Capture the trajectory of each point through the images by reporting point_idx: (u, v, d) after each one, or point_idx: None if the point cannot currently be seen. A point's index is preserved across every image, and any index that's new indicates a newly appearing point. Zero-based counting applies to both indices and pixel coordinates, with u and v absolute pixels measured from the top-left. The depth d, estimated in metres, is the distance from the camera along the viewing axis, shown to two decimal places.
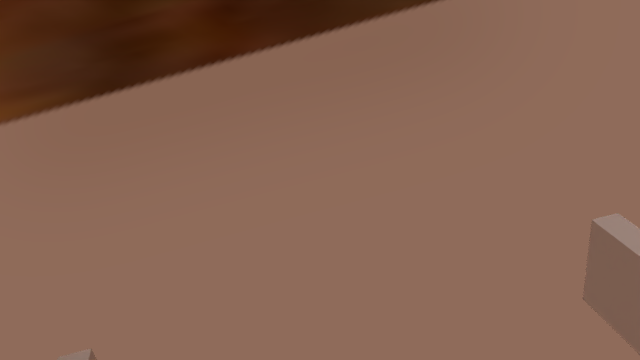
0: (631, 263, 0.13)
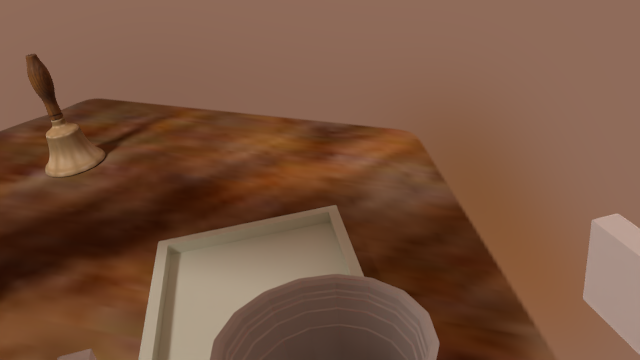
0: (631, 263, 0.13)
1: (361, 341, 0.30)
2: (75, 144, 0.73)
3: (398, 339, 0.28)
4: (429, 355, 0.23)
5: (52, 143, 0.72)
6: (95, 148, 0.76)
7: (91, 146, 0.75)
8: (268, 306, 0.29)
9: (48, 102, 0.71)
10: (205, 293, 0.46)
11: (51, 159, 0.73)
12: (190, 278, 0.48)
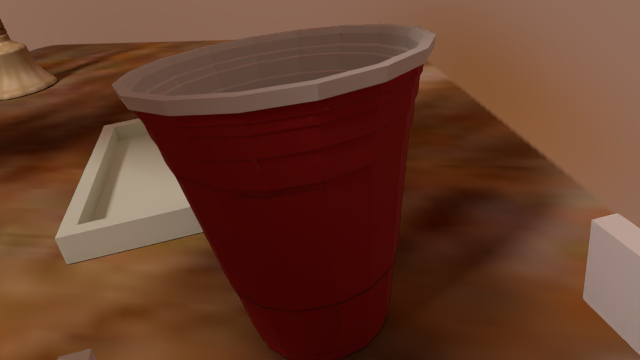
0: (631, 264, 0.13)
1: None
2: (20, 63, 0.65)
3: None
4: (422, 40, 0.17)
5: None
6: (45, 72, 0.68)
7: (40, 69, 0.68)
8: (209, 62, 0.22)
9: None
10: (155, 164, 0.39)
11: None
12: (139, 155, 0.41)
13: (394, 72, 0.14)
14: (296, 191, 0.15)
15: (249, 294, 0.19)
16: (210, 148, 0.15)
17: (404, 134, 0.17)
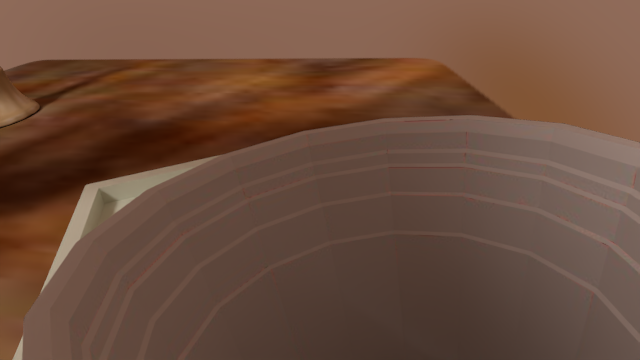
0: None
1: (447, 266, 0.13)
2: None
3: (553, 242, 0.11)
4: None
5: None
6: (25, 98, 0.59)
7: (19, 95, 0.58)
8: (234, 184, 0.12)
9: None
10: None
11: None
12: None
13: None
14: None
15: None
16: None
17: None
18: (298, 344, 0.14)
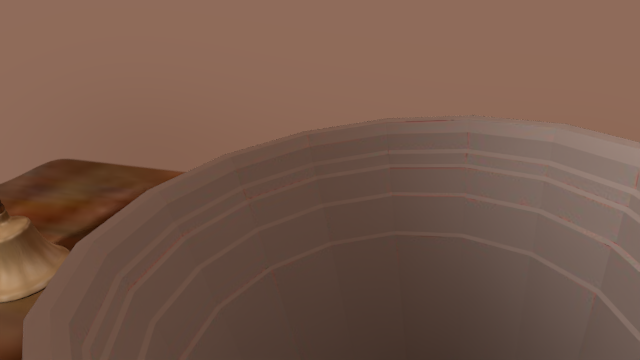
0: None
1: (448, 267, 0.13)
2: (24, 250, 0.48)
3: (555, 243, 0.11)
4: None
5: None
6: (56, 250, 0.51)
7: (50, 248, 0.50)
8: (234, 185, 0.12)
9: None
10: None
11: None
12: None
13: None
14: None
15: None
16: None
17: None
18: (299, 345, 0.13)
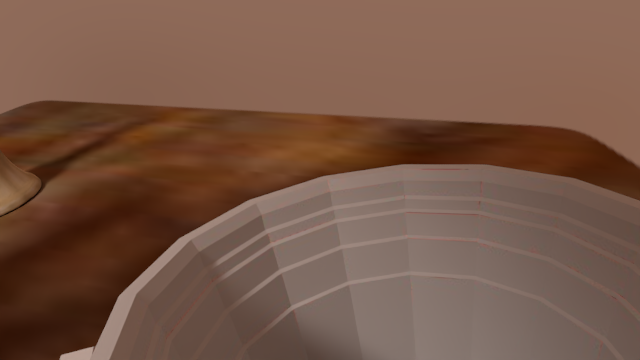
0: None
1: (460, 307, 0.14)
2: None
3: (564, 291, 0.12)
4: None
5: None
6: (23, 174, 0.45)
7: (15, 171, 0.44)
8: (259, 230, 0.13)
9: None
10: None
11: None
12: None
13: None
14: None
15: None
16: None
17: None
18: None
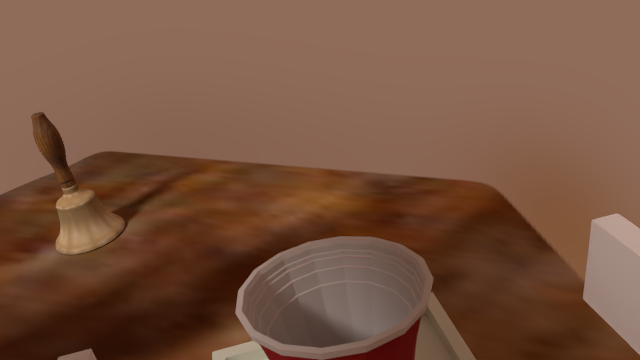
0: (631, 264, 0.13)
1: (366, 294, 0.34)
2: (90, 214, 0.62)
3: (398, 286, 0.32)
4: (425, 287, 0.27)
5: (64, 215, 0.61)
6: (113, 216, 0.65)
7: (109, 214, 0.64)
8: (283, 265, 0.33)
9: (58, 167, 0.60)
10: None
11: (63, 233, 0.62)
12: None
13: (409, 326, 0.25)
14: None
15: None
16: None
17: (414, 342, 0.28)
18: (308, 326, 0.34)
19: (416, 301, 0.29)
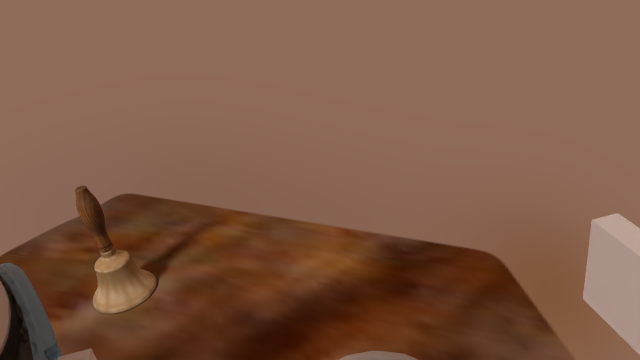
0: (630, 264, 0.13)
1: None
2: (127, 276, 0.67)
3: None
4: None
5: (103, 277, 0.66)
6: (146, 275, 0.70)
7: (142, 274, 0.69)
8: None
9: (98, 235, 0.65)
10: None
11: (100, 293, 0.67)
12: None
13: None
14: None
15: None
16: None
17: None
18: None
19: None
